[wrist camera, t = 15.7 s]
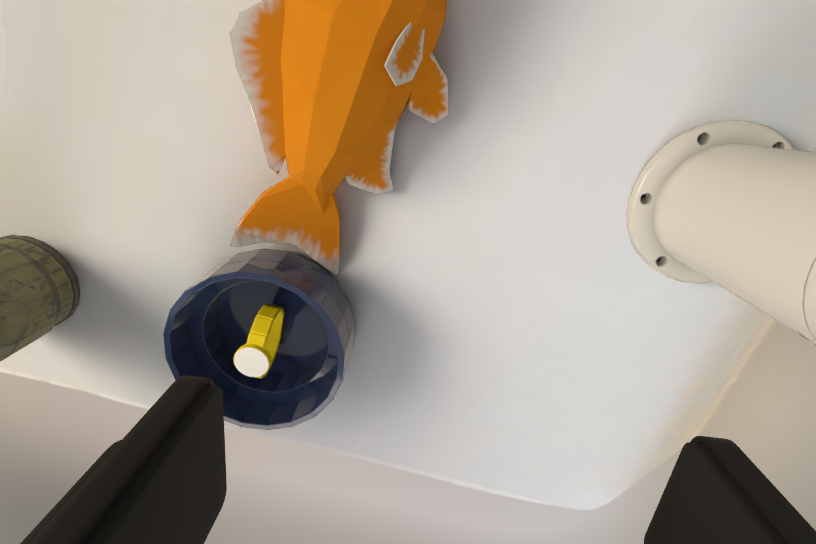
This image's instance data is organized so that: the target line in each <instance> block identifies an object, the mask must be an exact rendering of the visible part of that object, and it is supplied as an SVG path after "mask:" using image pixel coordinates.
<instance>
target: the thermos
mask: <svg viewBox="0 0 816 544" xmlns="http://www.w3.org/2000/svg"><path fill="white" fill-rule="evenodd" d="M79 296H80V291H79V286H78V281H77V278H76V276H75V274H74V272H73V270H72V269H71V267H70V265H69V264H68V263H67V262H66V260H65V259H64V258H63V257H62V256H61V255H60V254H59V253H58V252H57V251H55V250H54V249H52V248H51V247H49V246H48V245H47V244H45V243H44V242H41V241H38V240H36V239H33V238H30V237H27V236H16V235H10V236H6V237H2V238H0V361H2V360H4V359H5V358H7V357H9V356H10V355H12V354H13V353H15V352H17V351H18V350H20V349H22V348H23V347H25V346H27V345H28V344H30V343H32V342H33V341H35V340H37V339H38V338H40V337H41V336H43V335H44V334H46V333H47V332H49V331H50V330H51V329H52V327H53V326H56V325H58V324H59V323H61V322H63V321H64V320H66V319H67V318H69V317H70V316H72V314H73V313H74V311H75V309H76V308H77V306H78V302H79Z"/></svg>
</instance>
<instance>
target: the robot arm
mask: <svg viewBox="0 0 816 544" xmlns="http://www.w3.org/2000/svg"><path fill="white" fill-rule="evenodd" d="M699 136H700V137H699ZM698 137H699V140H698V141H697V139H698ZM642 195H644V197H643V198H642V199H641V200H640V198H641V196H642ZM627 217H628V230H629V234H630V237H631V241H632V243H633V245H634V247H635V249H636V251H637V253H638V254H639V255H640V256H641V257H642V259H643V260H644V261H645V262H646V263H647V264H648V265H650V266H651V267H652V268H654V269H655V270H656V271H658V272H660V273H661V274H663V275H665V276H667V277H669V278H672V279H675V280H678V281H682V282H690V283H706V282H714V283H716V284H717V285H719V286H721V287H722V288H724V289H725V290H727V291H729V292H730V293H732V294H734V295H735V296H737V297H739V298H740V299H742V300H743V301H745V302H747V303H748V304H750V305H752V306H753V307H755V308H756V309H758V310H760V311H761V312H763V313H765V314H766V315H768V316H770V317H771V318H773V319H774V320H776V321H778V322H779V323H781V324H783V325H784V326H786V327H788V328H789V329H791V330H792V331H794V332H796V333H797V334H799V335H801V336H802V337H804V338H805V339H807V340H809V341H811V342H812V343H814V344H815V345H816V153H812V152H804V151H796V150H794V148H793V147H792V145H791V144H790V143H789V141H788V140H786V139H785V138H784V137H783V136H782V135H781V134H779V133H778V132H777V131H775V130H773V129H771V128H769V127H767V126H765V125H761V124H757V123H753V122H749V121H734V120H731V121H717V122H712V123H708V124H705V125H701V126H698V127H695V128H693V129H691V130H689V131H687V132H684V133H682V134H681V135H679V136H678V137H676V138H675V139H673V140H672V141H670V142H669V143H667V144H666V145H665V146H664V147H663V148H662V149H661V150H660V151H658V152H657V153H656V154H655V155H654V156H653V157H652V159H651V160H650V161H649V163H648V164H647V165H646V166H645V168H644V169H643V170H642V172H641V174H640V176H639V178H638V179H637V181H636V183H635V185H634V188H633V191H632V194H631V197H630V200H629V207H628V213H627ZM657 258H658V259H657ZM225 496H226V463H225V439H224V415H223V393H222V389H221V388H220V387H215V384H214V381H213V379H211V378H203V377H195V376H186V375H183V376H180V377H179V378H178V379H176V381H175V382H174V383H173V384H172V385H171V386H170V387H169V388H168V389H167V391H166V392H165V393H164V394H163V395H162V396H161V397H160V398H159V399H158V401H157V402H156V403H155V404H154V405H153V406H152V407H151V408H150V409H149V411H148V412H147V413H146V414H145V415H144V416H143V417H142V418H141V419H140V421H139V422H138V423H137V424H136V425H135V426H134V427H133V428H132V430H131V431H130V432H129V433H128V434H127V435H126V436H125V437H124V438H123V440H120V441H118V442H116V443H114V444H113V445H111V446H110V447H109V448H108V449H107V450H106V451H105V452H104V453H103V454H102V455H101V456H100V458H99V459H98V460H97V461H96V462H95V463H94V464H93V465H92V466H91V467H90V469H89V470H88V471H87V472H86V473H85V474H84V475H83V476H82V477H81V478H80V479H79V480H78V481H77V483H76V484H75V485H74V486H73V487H72V488H71V489H70V490H69V491H68V492H67V493H66V495H65V496H64V497H63V498H62V499H61V500H60V501H59V502H58V503H57V504H56V505H55V507H54V508H53V509H52V510H51V511H50V512H49V513H48V514H47V515H46V517H44V518H43V520H42V521H41V522H40V523H39V524H38V525H37V526H36V527H35V528H34V529H33V531H32V532H31V533H30V534H29V535H28V536H27V537H26V538H25V539H24V540H23V541H22V543H21V544H204V542H205V540H206V538H207V536H208V534H209V532H210V530H211V528H212V526H213V524H214V522H215V520H216V518H217V516H218V514H219V512H220V510H221V508H222V506H223V503H224V500H225ZM644 544H816V531H815V530H814V529H813V528H812V527H811V526H810V524H809V523H808V522H807V521H806V520H805V519H804V518H803V517H802V516H801V515H800V514H799V512H798V511H797V510H796V509H795V508H794V507H793V506H792V505H791V504H790V503H789V502H788V501H787V500H786V498H785V497H784V496H783V495H782V494H781V493H780V492H779V491H778V490H777V489H776V487H775V486H774V485H773V484H772V483H771V482H770V481H769V480H768V479H767V478H766V477H765V476H764V474H762V472H761V471H760V470H759V469H758V468H757V467H756V466H755V465H754V463H752V462H751V460H750V459H749V458H748V457H747V456H746V455H745V454H744V453H743V452H742V450H741V449H740V448H739V447H738V446H737V445H736V444H735V443H734V442H732V441H731V440H728V439H722V438H713V437H705V436H696V437H695V438H693V439H692V441H691V442H689V443H686V444H685V445H684V446H683V448H682V451H681V453H680V455H679V458H678V460H677V462H676V465H675V467H674V469H673V471H672V474H671V476H670V478H669V481H668V483H667V486H666V488H665V490H664V492H663V495H662V497H661V500H660V502H659V504H658V507H657V509H656V511H655V513H654V516H653V518H652V520H651V523H650V525H649V527H648V530H647V532H646V534H645V538H644Z"/></svg>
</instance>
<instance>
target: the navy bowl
mask: <svg viewBox="0 0 816 544" xmlns="http://www.w3.org/2000/svg"><path fill="white" fill-rule="evenodd" d="M266 304H272V305H277V306H281V307H283V309H284V312H285V315H284V319H283V326H282V333H281V340H280V343H279V347H278V350H277V352H276V356H275V358H274V361H273V363H272V366H271V368H270V369H269V371H268V373H267V375H266V376H264V377H263V378H261V379H260V378H256V377H249V376H246V375H244V374H242V373H241V372H239V371H238V369H237V368H236V367H235V364H234V359H233V358H234V355H235V353H236V351H237V350H238V349H239V348H240V346H242V345H244V344H246V343H247V339H248V335H249V333H250V329H251V327H252V325H253V322H254V320H255V317H256V315H257V314H258V312H259V311H260V309H261V307H262V306H264V305H266ZM354 325H355V323H354V319H353V315H352V311H351V308H350V304H349V301H348V299H347V297H346V296H345V294H344V293H343V291H342V290H341V288H340V287H339V285H338V284H337V282H336V281H335V280H334V278H332V277H331V276H330V275H329V274H328V273H326V272H325V271H324V270H323V269H321V268H320V267H319V266H318V265H317V264H315V263H314V262H311V261H309V260H307V259H304V258H302V257H300V256H298V255H295V254H293V253H290V252H285V251H277V250H269V249H259V250H254V251H249V252H243V253H239V254H236V255H235V256H233V257H231V258H229V259H228V260H226V261H224V262H222V263H221V264H219V265H217V266H216V267H215V268H214V269H212V270H211V271H210V272H208V273H207V274H206V275H205V276H203V277H202V278H201V279H199V280H198V281H197V282H196V283H194V284H193V285H192V286H190V287H189V288H188V289H187V290H186V291H185V292H184V293H183V294H182V296H181V297H180V298H179V299H178V300H177V302H176V303H175V304H174V305H173V307H172V308H171V310H170V312H169V316H168V319H167V322H166V326H165V329H164V334H163V335H164V346H165V357H166V360H167V362H168V364H169V367H170V369H171V371H172V373H173V376H174V378H175V380H176V379H178V378H179V377H180V376H183V375H186V376H195V377H203V378H211V379H213V381H214V384H215V387H220V388H221V389H222V393H223V415H224V420H225V421H227V422H230V423H233V424H235V425H238V426H241V427H247V428H256V429H264V430H271V429H278V428H285V427H292V426H295V425H297V424H299V423H302V422H304V421H306V420H308V419H310V418H312V417H315V416H316V415H317V414H318V413H319V412H320V411H321V410H323V409H324V408H325V407H326V406H327V405H328V404H329V403H330V402H331V401H332V400H333V398H334V396H335V394H336V392H337V390H338V388H339V386H340V384H341V382H342V380H343V376H344V373H345V370H346V366H347V363H348V359H349V356H350V352H351V349H352V346H353V337H354Z"/></svg>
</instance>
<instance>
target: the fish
mask: <svg viewBox="0 0 816 544" xmlns="http://www.w3.org/2000/svg"><path fill="white" fill-rule="evenodd" d="M446 7H447V0H264V1H262V2H260V3H258V4H256V5H254V6H252V7H250V8H248V9H246V10H244V11H243V12H241V13H239V16H238V18H237V20H236V22H235V24H234V26H233V27H232V29H231V31H230V38H231V43H232V48H233V53H234V59H235V64H236V68H237V71H238V73H239V76H240V78H241V81H242V83H243V86H244V89H245V92H246V95H247V98H248V102H249V105H250V108H251V111H252V114H253V117H254V120H255V123H256V126H257V129H258V132H259V135H260V138H261V141H262V144H263V147H264V150H265V154H266V157H267V161H268V164H269V167H271V168H272V169H273V170H274V171H275V172H276V173H277V174H278V173H279V171H280V168H281V166H282V164H283V161H284V159H285V156H286V161H287V166H288V171H289V177H288V178H286V179H284V180H283V181H281V182H279V183H278V184H276V185H275V186H273V187H271V188H270V189H268V190H266V191H265V192H263V193H262V194H261V196H260V197H259V198H258V199H257V200H256V202H255V203H254V204H253V205H252V207H251V208H250V209H249V210H248V212H247V213H246V214H245V215H244V217H243V218H242V219H241V220H240V221H239V223H238V224H237V226H236V229H235V232H234V235H233V238H232V241H231V244H230V246H240V247H241V246H246V245H251V244H256V243H260V242H268V243H284V244H294V245H296V246H297V247H298V248H300V249H301V250H302V251H304V252H305V253H306V254H308V255H309V256H310V257H312V258H313V259H314V260H316V261H317V262H318V263H320V264H321V265H322V266H324V267H325V268H326V269H328V270H329V271H331V272H332V273H333V274H335V275H336V276H337V274H338V272H339V264H340V216H339V211H338V207H337V203H336V198H335V194H334V192H335V190H336V189H337V187H338V186H339V185H340V183H341V182H342V180H343V179H344V177H345V178H346V180H347V182H348V183H349V185H352V186H354V187H357V188H359V189H362V190H365V191H369V192H372V193H376V194H379V195H380V194H383V193H385V192H388V191H391V190H393V185H392V181H391V176H390V171H389V170H390V163H391V156H392V149H393V143H394V136H395V129H396V124H397V122H398V120H399V118H400V116H401V114H402V112H403V110H404V108H405V107H406V105H407V103H408V108H409V110H410V112H412V113H414V114H416V115H417V116H419V117H421V118H423V119H425V120H427V121H429V122H431V123H432V124H434V123H435V122H437V121H439V120H440V119H442V118H444V117H445V116H447V115H448V79H447V77H446V75H445V74H444V72H443V70H442V69H441V67H440V65H439V64H438V62H437V60H436V59H435V57H434V55H433V52H434V49H435V46H436V43H437V41H438V38H439V35H440V32H441V29H442V26H443V23H444V20H445V18H446Z"/></svg>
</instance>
